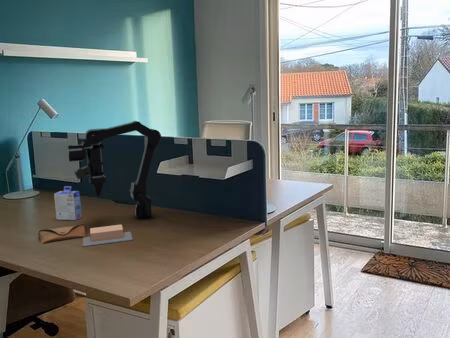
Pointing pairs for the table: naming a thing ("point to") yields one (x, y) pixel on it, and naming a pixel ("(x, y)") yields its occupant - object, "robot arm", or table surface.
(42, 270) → the table surface
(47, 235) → the sunglasses case
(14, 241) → the table surface
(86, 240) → the mat
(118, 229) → the beige rectangular block
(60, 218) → the ink cartridge box
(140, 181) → the robot arm
